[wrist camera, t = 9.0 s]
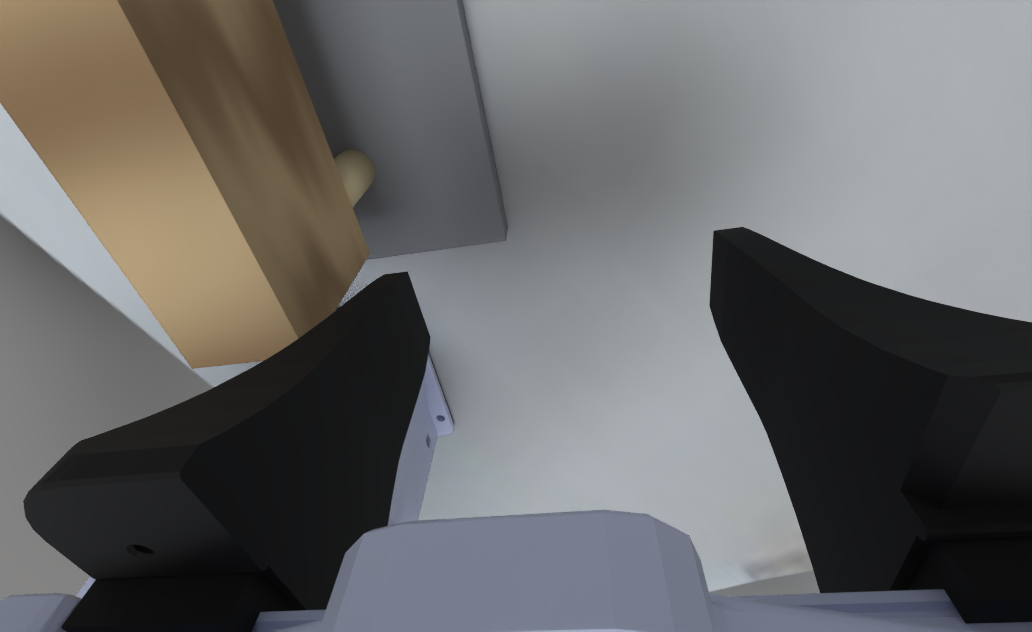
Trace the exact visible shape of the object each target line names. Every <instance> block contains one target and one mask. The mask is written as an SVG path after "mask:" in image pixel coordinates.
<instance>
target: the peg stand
mask: <svg viewBox="0 0 1032 632" xmlns="http://www.w3.org/2000/svg"><path fill="white" fill-rule="evenodd" d="M273 3H274V5H275V8H276V10H277V13H278V16H279V18H280V21H281V23H282V26H283V29H284V31H285V34H286V36H287V39H288V42H289V44H290V47H291V49H292V52H293V55H294V57H295V60H296V62H297V65H298V68H299V70H300V73H301V75H302V78H303V81H304V83H305V86H306V88H307V91H308V94H309V96H310V99H311V101H312V104H313V107H314V109H315V112H316V114H317V117H318V120H319V122H320V125H321V127H322V130H323V133H324V135H325V138H326V140H327V143H328V145H329V148H330V151H331V153H332V156H333V158H334V161H335V164H336V166H337V169H338V171H339V174H340V177H341V179H342V182H343V184H344V187H345V190H346V192H347V195H348V197H349V200H350V203H351V205H352V208H353V210H354V213H355V216H356V218H357V221H358V223H359V226H360V229H361V231H362V234H363V236H364V239H365V242H366V244H367V247H368V249H369V252H370V254H369V256H368V257H367V259H375V258H382V257H389V256H397V255H404V254H411V253H418V252H426V251H433V250H440V249H448V248H455V247H462V246H469V245H477V244H484V243H491V242H499V241H506V237H507V231H508V227H507V222H506V217H505V212H504V207H503V202H502V197H501V192H500V187H499V182H498V177H497V172H496V167H495V162H494V157H493V152H492V147H491V142H490V137H489V132H488V127H487V123H486V118H485V113H484V108H483V103H482V98H481V93H480V88H479V83H478V78H477V73H476V68H475V63H474V58H473V53H472V48H471V43H470V38H469V33H468V28H467V23H466V18H465V13H464V8H463V3H462V0H273ZM367 259H366V260H367Z"/></svg>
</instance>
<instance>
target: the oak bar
mask: <svg viewBox="0 0 1032 632" xmlns="http://www.w3.org/2000/svg"><path fill="white" fill-rule="evenodd" d="M0 103H1V104H2V106H3V107H4V108H5V110H6V111H7V113H8V114H9V115H10V117H11V118H12V120H13V121H14V122H15V124H16V125H17V126H18V128H19V129H20V131H21V132H22V133H23V135H24V136H25V138H26V139H27V140H28V142H29V143H30V145H31V146H32V147H33V149H34V150H35V151H36V153H37V154H38V156H39V157H40V158H41V160H42V161H43V163H44V164H45V165H46V167H47V168H48V169H49V171H50V172H51V174H52V175H53V176H54V178H55V179H56V181H57V182H58V183H59V185H60V186H61V188H62V189H63V190H64V192H65V193H66V194H67V196H68V197H69V199H70V200H71V201H72V203H73V204H74V206H75V207H76V208H77V210H78V211H79V212H80V214H81V215H82V217H83V218H84V219H85V221H86V222H87V224H88V225H89V226H90V228H91V229H92V231H93V232H94V233H95V235H96V236H97V237H98V239H99V240H100V242H101V243H102V244H103V246H104V247H105V249H106V250H107V251H108V253H109V254H110V255H111V257H112V258H113V260H114V261H115V262H116V264H117V265H118V267H119V268H120V269H121V271H122V272H123V274H124V275H125V276H126V278H127V279H128V280H129V282H130V283H131V285H132V286H133V287H134V289H135V290H136V292H137V293H138V294H139V296H140V297H141V298H142V300H143V301H144V303H145V304H146V305H147V307H148V308H149V310H150V311H151V312H152V314H153V315H154V317H155V318H156V319H157V321H158V322H159V323H160V325H161V326H162V328H163V329H164V330H165V332H166V333H167V335H168V336H169V337H170V339H171V340H172V341H173V343H174V344H175V346H176V347H177V348H178V350H179V351H180V353H181V354H182V355H183V357H184V358H185V360H186V361H187V362H188V364H189V365H190V366H191V368H192V369H193V368H202V367H211V366H220V365H229V364H238V363H248V362H257V361H264V360H266V359H268V358H269V357H271V356H273V355H274V354H276V353H278V352H279V351H281V350H282V349H284V348H285V347H287V346H288V345H290V344H291V343H293V342H294V341H296V340H297V339H298V338H300V337H301V336H303V335H304V334H305V333H307V332H308V331H309V330H311V329H312V328H313V327H315V326H316V325H318V324H319V323H320V322H322V321H323V320H324V319H326V318H327V317H328V316H330V315H331V314H332V313H334V312H335V310H336V308H337V307H338V305H339V303H340V302H341V300H342V299H343V297H344V295H345V294H346V292H347V290H348V289H349V287H350V285H351V284H352V282H353V280H354V279H355V277H356V275H357V274H358V272H359V271H360V269H361V267H362V266H363V264H364V262H365V261H366V259H367V257H368V256H369V254H370V252H369V249H368V247H367V244H366V242H365V239H364V236H363V234H362V231H361V229H360V226H359V223H358V221H357V218H356V216H355V213H354V210H353V208H352V205H351V203H350V200H349V197H348V195H347V192H346V190H345V187H344V184H343V182H342V179H341V177H340V174H339V171H338V169H337V166H336V164H335V161H334V158H333V156H332V153H331V151H330V148H329V145H328V143H327V140H326V138H325V135H324V133H323V130H322V127H321V125H320V122H319V120H318V117H317V114H316V112H315V109H314V107H313V104H312V101H311V99H310V96H309V94H308V91H307V88H306V86H305V83H304V81H303V78H302V75H301V73H300V70H299V68H298V65H297V62H296V60H295V57H294V55H293V52H292V49H291V47H290V44H289V42H288V39H287V36H286V34H285V31H284V29H283V26H282V23H281V21H280V18H279V16H278V13H277V10H276V8H275V5H274V3H273V0H0Z"/></svg>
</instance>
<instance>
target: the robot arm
mask: <svg viewBox="0 0 1032 632" xmlns="http://www.w3.org/2000/svg"><path fill="white" fill-rule="evenodd" d="M710 309H711V312H712V315H713V319H714V322H715V325H716V328H717V331H718V334H719V337H720V340H721V342H722V344H723V346H724V348H725V350H726V352H727V354H728V356H729V358H730V360H731V362H732V364H733V366H734V368H735V370H736V372H737V374H738V376H739V378H740V380H741V382H742V384H743V386H744V388H745V389H746V391H747V393H748V395H749V397H750V399H751V401H752V403H753V405H754V407H755V409H756V411H757V413H758V415H759V417H760V419H761V421H762V424H763V426H764V428H765V430H766V432H767V435H768V438H769V440H770V443H771V446H772V448H773V451H774V454H775V456H776V459H777V462H778V465H779V467H780V470H781V473H782V476H783V478H784V481H785V484H786V487H787V490H788V493H789V496H790V499H791V502H792V505H793V507H794V510H795V513H796V516H797V519H798V523H799V526H800V529H801V532H802V535H803V538H804V541H805V544H806V548H807V551H808V554H809V557H810V560H811V563H812V566H813V570H814V573H815V577H816V580H817V584H818V587H819V590H820V593H814V594H813V593H812V594H783V595H756V596H755V595H753V596H725V595H719V594H712V593H709V591H708V587H707V584H706V580H705V576H704V572H703V568H702V564H701V560H700V558H699V556H698V554H697V552H696V549H695V547H694V545H693V543H692V541H691V539H690V537H689V535H687V534H685V533H683V532H682V531H680V530H678V529H676V528H674V527H672V526H670V525H668V524H666V523H664V522H662V521H660V520H658V519H656V518H654V517H652V516H650V515H648V514H642V513H631V512H621V511H610V510H592V511H575V512H558V513H541V514H524V515H507V516H490V517H473V518H456V519H439V520H422V521H418V518H419V514H420V510H421V506H422V501H423V497H424V492H425V488H426V484H427V479H428V475H429V471H430V466H431V462H432V458H433V453H434V449H435V445H436V440H437V436H443V435H450V434H452V433H453V430H454V424H453V421H452V418H451V415H450V412H449V410H448V407H447V404H446V401H445V398H444V396H443V393H442V390H441V387H440V384H439V382H438V379H437V376H436V373H435V370H434V367H433V365H432V362H431V359H430V356H429V353H428V352H429V344H430V335H429V332H428V329H427V326H426V323H425V321H424V318H423V315H422V312H421V309H420V306H419V303H418V300H417V297H416V295H415V292H414V289H413V286H412V283H411V280H410V277H409V274H408V272H401V273H393V274H386V275H383V276H381V277H379V278H378V279H376V280H375V281H373V282H372V283H371V284H369V285H368V286H367V287H365V288H364V289H363V290H361V291H360V292H359V293H358V294H356V295H355V296H354V297H352V298H351V299H350V300H349V301H347V302H346V303H345V304H344V305H342V306H341V307H340V308H339V309H337V310H335V312H334V313H332V314H331V315H330V316H328V317H327V318H326V319H324V320H323V321H322V322H320V323H319V324H318V325H316V326H315V327H313V328H312V329H311V330H309V331H308V332H307V333H305V334H304V335H303V336H301V337H300V338H298V339H297V340H296V341H294V342H293V343H291V344H290V345H288V346H287V347H285V348H284V349H282V350H281V351H279V352H278V353H276V354H274V355H273V356H271V357H269V358H268V359H266V360H264V361H263V362H261V363H259V364H258V365H256V366H254V367H252V368H251V369H249V370H247V371H245V372H243V373H241V374H239V375H237V376H235V377H234V378H232V379H230V380H228V381H226V382H224V383H222V384H220V385H218V386H216V387H214V388H212V389H210V390H208V391H207V392H204V393H202V394H200V395H198V396H196V397H193V398H191V399H189V400H187V401H185V402H182V403H180V404H178V405H175V406H173V407H171V408H168V409H166V410H163V411H161V412H159V413H156V414H153V415H151V416H149V417H146V418H143V419H141V420H138V421H135V422H133V423H130V424H127V425H124V426H121V427H119V428H116V429H113V430H110V431H107V432H105V433H102V434H99V435H96V436H93V437H90V438H88V439H84V440H81V441H80V442H78V443H77V444H75V445H74V446H73V447H72V448H71V449H70V450H69V451H68V452H67V453H66V454H65V455H64V456H63V457H62V458H61V459H60V460H59V461H58V462H57V463H56V464H55V465H54V466H53V467H52V468H51V469H50V470H49V471H48V472H47V473H46V474H45V475H44V476H43V477H42V478H41V480H39V481H38V482H37V484H36V485H34V486H33V488H32V489H31V490H30V491H29V492H28V494H27V495H26V497H25V499H24V501H23V502H24V509H25V516H26V518H27V520H28V522H29V523H30V525H31V527H32V528H33V530H34V531H35V532H36V533H38V534H39V535H40V536H41V537H42V538H43V539H44V540H45V541H46V542H47V543H49V544H50V545H51V546H52V547H54V548H55V549H56V550H58V551H59V552H60V553H61V554H63V555H64V556H65V557H66V558H68V559H69V560H70V561H72V562H73V563H74V564H75V565H77V566H78V567H79V568H81V569H82V570H83V571H84V572H86V573H87V574H88V575H90V577H89V579H88V580H87V582H86V583H85V584H84V586H83V587H82V588H81V590H80V591H79V592H78V594H77V595H76V596H73V595H70V594H62V593H52V594H51V593H50V594H26V595H10V596H8V597H4V598H3V599H2V600H1V601H0V632H1032V322H1026V321H1020V320H1014V319H1008V318H1003V317H998V316H993V315H988V314H983V313H978V312H974V311H969V310H965V309H961V308H957V307H953V306H948V305H944V304H940V303H936V302H932V301H928V300H925V299H921V298H917V297H914V296H910V295H907V294H904V293H901V292H897V291H894V290H891V289H888V288H885V287H882V286H879V285H875V284H873V283H870V282H867V281H864V280H861V279H859V278H856V277H854V276H851V275H849V274H846V273H844V272H841V271H839V270H836V269H834V268H831V267H829V266H827V265H824V264H822V263H820V262H817V261H815V260H813V259H811V258H809V257H806V256H804V255H802V254H800V253H798V252H796V251H794V250H792V249H790V248H787V247H785V246H783V245H781V244H779V243H777V242H775V241H773V240H771V239H769V238H767V237H765V236H763V235H761V234H758V233H756V232H754V231H752V230H749V229H747V228H744V227H739V228H731V229H724V230H716V231H714V235H713V253H712V272H711V290H710ZM439 415H442V416H443V417H442V416H439Z"/></svg>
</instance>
